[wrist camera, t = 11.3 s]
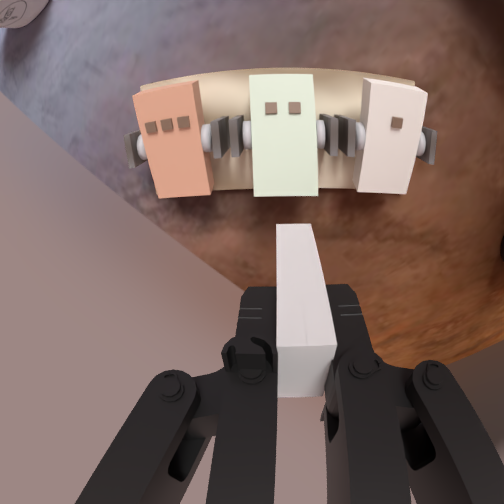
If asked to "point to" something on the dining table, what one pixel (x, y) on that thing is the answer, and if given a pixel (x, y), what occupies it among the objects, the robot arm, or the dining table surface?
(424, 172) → the dining table surface
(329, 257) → the dining table surface
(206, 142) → the key three
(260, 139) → the key two
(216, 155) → the pastel toggle block board
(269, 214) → the dining table surface
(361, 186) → the key one
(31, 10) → the mug
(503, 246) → the mug
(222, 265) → the dining table surface
